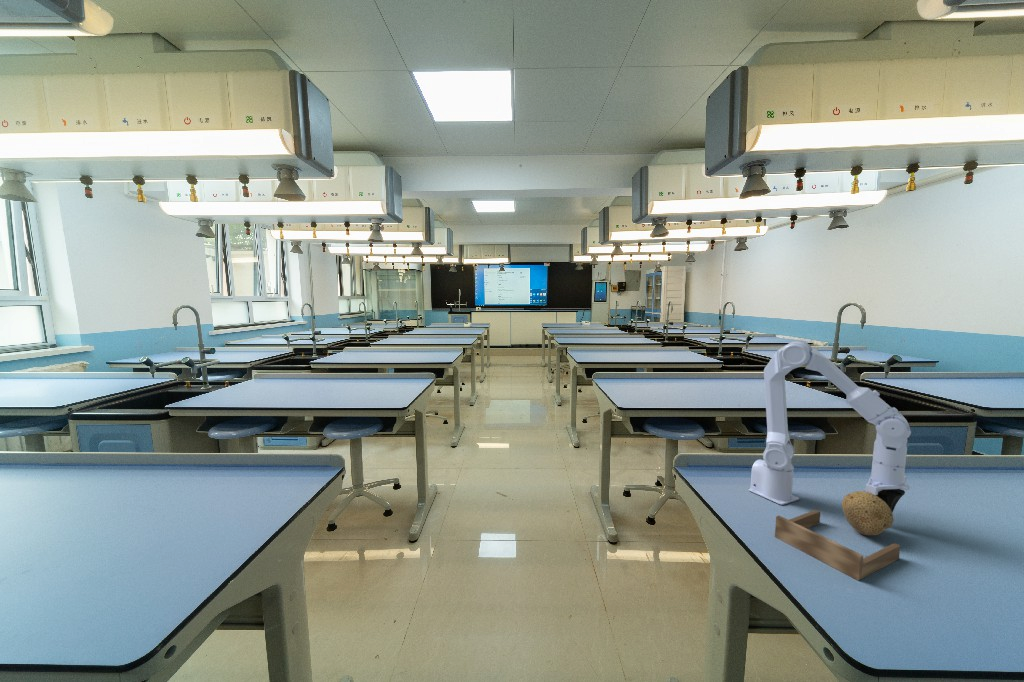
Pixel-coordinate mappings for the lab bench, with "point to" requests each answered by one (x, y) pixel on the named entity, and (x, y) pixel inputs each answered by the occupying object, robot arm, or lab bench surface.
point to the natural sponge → (867, 513)
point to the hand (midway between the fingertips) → (883, 516)
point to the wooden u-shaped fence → (831, 547)
